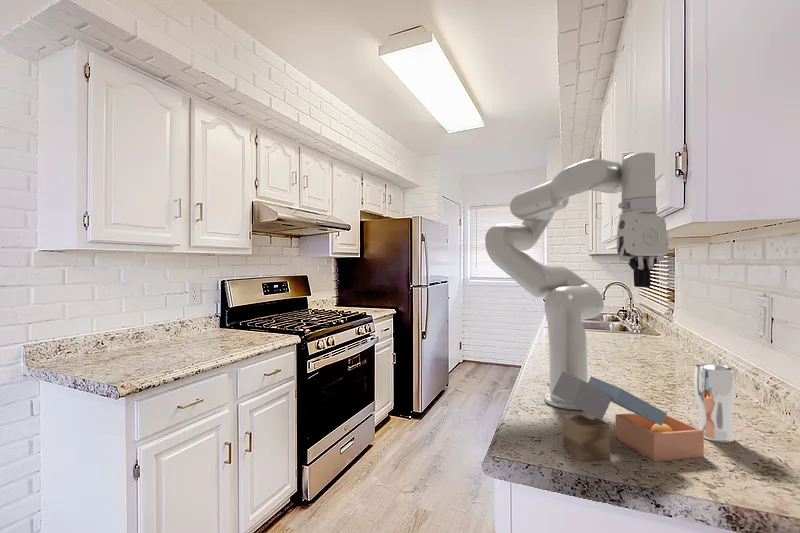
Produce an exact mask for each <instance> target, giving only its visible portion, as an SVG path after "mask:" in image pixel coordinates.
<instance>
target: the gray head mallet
mask: <svg viewBox="0 0 800 533" xmlns="http://www.w3.org/2000/svg"><path fill="white" fill-rule="evenodd" d="M552 394H554V395H556V396H557V397H559V398H561V399H563V400H564V401H566V402H568V403H570V404H571V405H573V406H575V407H577V408H579V409H581V410H580V411H583V412H585V413H588V414H590V415H592V416H594V417H596V418H598V419H600V420H603V419H604V417H605V415H606V413H607V411H608V409H609V406H610V404H611V403H613V404H615V405H617V406H619V407H621V408H623V409H625V410H627V411H630V412H632V413H636V414H638V415H640V416H642V417H644V418H646V419H648V420H650V421H652V422H654V423H657V424H659V425H661V426H662V424H663V422H664V419H665V417H666V415H668V413H667V412H665V411H664V410H661V409H660V408H657V407H656V406H654V405H652V404H650V403H649V402H647V401H645V400H643V399H641V398H639V397H638V396H635V395H634V394H632V393H630V392H629V391H626V390H625V389H623V388H621V387H618V386H616V385H613V384H610V383H609V382H606V381H604V380H601V379H599V378H596V377H595V376H592V375H590V378H589V380H588V383H587V382H585V381H583V380H581V379H579V378H576V377H574V376H572V375H570V374H567V373H565V372H563V371H562V373H561V375H560V377H559V379H558V382H557V384H556V386H555V388H554V390H553V392H552Z"/></svg>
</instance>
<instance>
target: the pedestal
mask: <svg viewBox="0 0 800 533" xmlns="http://www.w3.org/2000/svg"><path fill="white" fill-rule="evenodd" d="M562 430H563V431H562V433H563V435H562V436H563V439H562V440H563V441H562V442H563V448H564V449H565V450H566V451H567V452H568V453H570V454H571V455H572V456H573V457H575V458H576V459H577V460H579V461H580V462H591V461H602V460H603V461H604V460H610V459H611V438H610V435H611V434H610V423H608V422H607V421H605V420H603V419H602V420H600V419H598V418H596V417H594V416H592V415H590V414H588V413H587V412H585V413H575V414H563V415H562Z"/></svg>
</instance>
